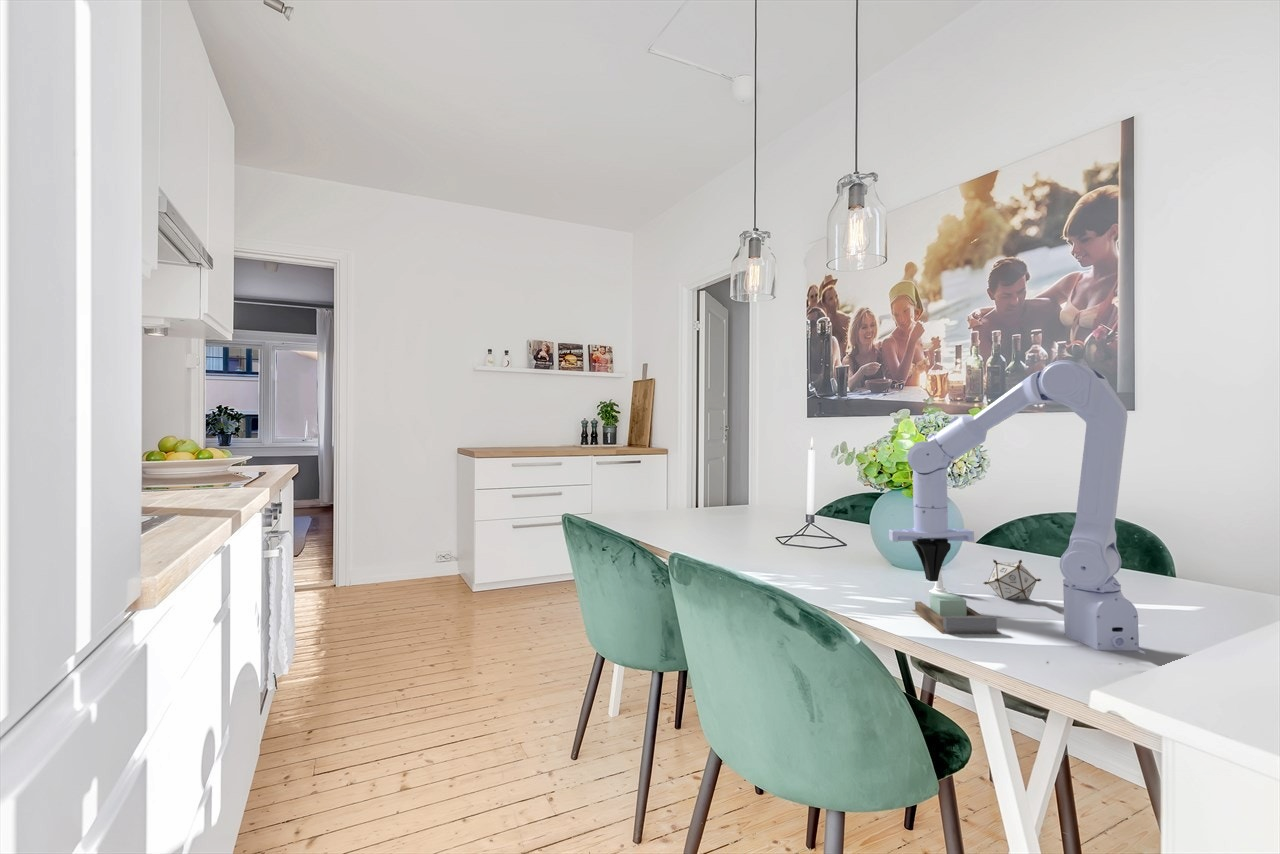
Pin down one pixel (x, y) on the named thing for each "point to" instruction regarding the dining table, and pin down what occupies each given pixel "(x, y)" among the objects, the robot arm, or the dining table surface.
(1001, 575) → the game die
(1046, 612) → the dining table surface
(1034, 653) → the dining table surface
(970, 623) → the chute
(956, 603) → the block
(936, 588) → the chess piece
